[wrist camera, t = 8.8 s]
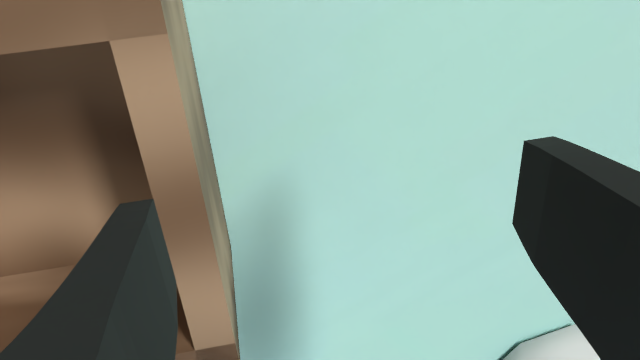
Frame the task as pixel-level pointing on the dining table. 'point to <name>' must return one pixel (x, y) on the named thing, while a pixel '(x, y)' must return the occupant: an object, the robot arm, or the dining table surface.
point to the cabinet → (107, 156)
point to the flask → (555, 347)
